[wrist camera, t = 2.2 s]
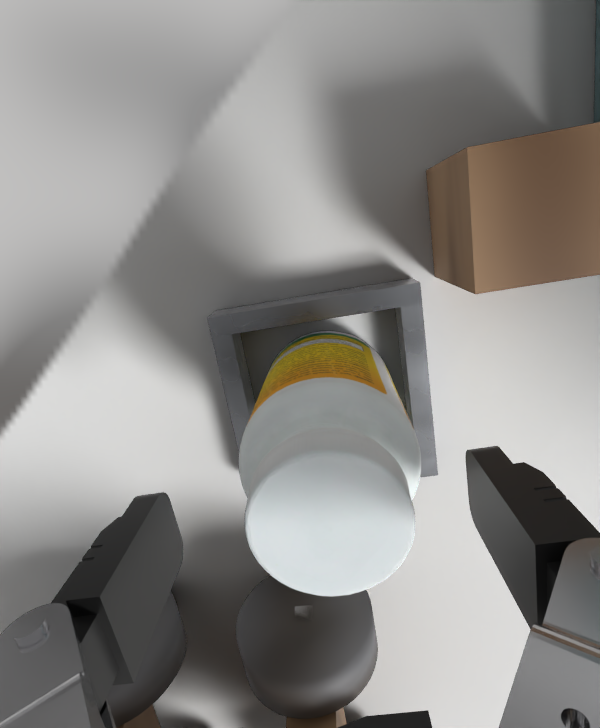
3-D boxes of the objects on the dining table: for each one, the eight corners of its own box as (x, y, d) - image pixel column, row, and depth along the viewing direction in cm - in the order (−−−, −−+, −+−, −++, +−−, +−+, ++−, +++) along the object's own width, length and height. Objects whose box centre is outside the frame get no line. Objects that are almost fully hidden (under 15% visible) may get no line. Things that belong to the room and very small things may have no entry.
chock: (563, 145, 16) (665, 109, 11) (563, 255, 17) (655, 265, 12) (425, 170, 17) (467, 147, 12) (434, 276, 18) (475, 294, 13)
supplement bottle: (413, 392, 19) (497, 544, 10) (321, 463, 20) (321, 655, 11) (333, 300, 18) (343, 376, 9) (241, 381, 19) (168, 518, 10)
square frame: (412, 278, 18) (420, 282, 16) (429, 457, 20) (437, 475, 19) (216, 310, 18) (206, 317, 17) (254, 479, 21) (249, 498, 19)
